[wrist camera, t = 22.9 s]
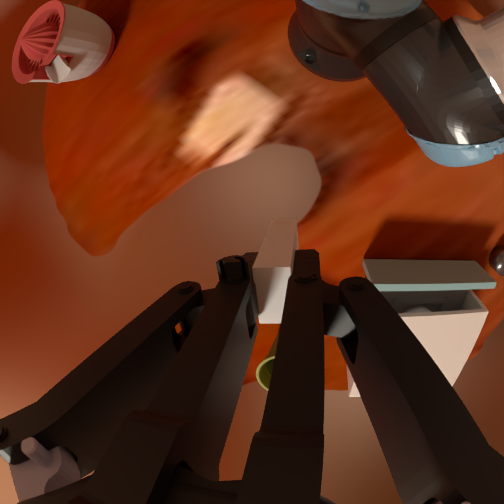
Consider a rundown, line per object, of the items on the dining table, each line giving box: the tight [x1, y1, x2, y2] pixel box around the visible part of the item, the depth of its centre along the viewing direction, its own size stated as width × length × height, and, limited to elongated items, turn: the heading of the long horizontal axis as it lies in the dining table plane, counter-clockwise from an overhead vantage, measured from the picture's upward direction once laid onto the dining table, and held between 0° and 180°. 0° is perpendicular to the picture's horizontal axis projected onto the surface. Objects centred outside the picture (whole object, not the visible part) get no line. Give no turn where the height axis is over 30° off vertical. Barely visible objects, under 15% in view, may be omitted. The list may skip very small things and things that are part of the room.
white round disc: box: [403, 305, 431, 313], centre depth 45 cm, size 8×8×2 cm
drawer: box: [363, 259, 496, 313], centre depth 43 cm, size 24×24×9 cm
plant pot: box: [256, 333, 279, 391], centre depth 50 cm, size 12×12×11 cm
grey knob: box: [489, 245, 504, 276], centre depth 37 cm, size 5×5×4 cm
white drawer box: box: [347, 289, 489, 397], centre depth 45 cm, size 20×24×10 cm
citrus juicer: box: [12, 0, 115, 84], centre depth 29 cm, size 16×17×20 cm
